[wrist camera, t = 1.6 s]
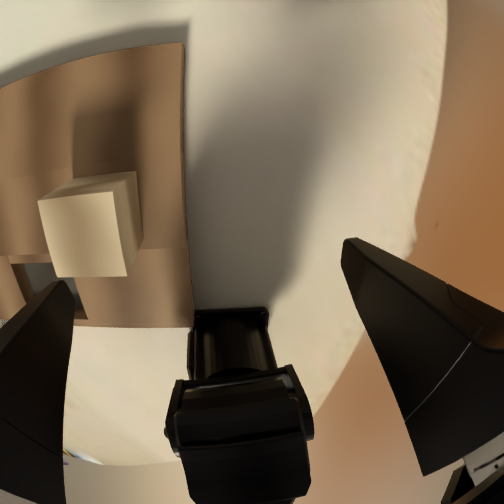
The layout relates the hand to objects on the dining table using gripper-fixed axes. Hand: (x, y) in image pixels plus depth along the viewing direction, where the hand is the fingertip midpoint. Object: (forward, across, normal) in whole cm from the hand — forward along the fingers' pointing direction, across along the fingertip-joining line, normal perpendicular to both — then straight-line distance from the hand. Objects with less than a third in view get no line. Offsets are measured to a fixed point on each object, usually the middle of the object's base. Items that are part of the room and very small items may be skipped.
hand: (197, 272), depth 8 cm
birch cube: (+10, +6, +1) cm, 12 cm away
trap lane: (+12, +17, 0) cm, 21 cm away
